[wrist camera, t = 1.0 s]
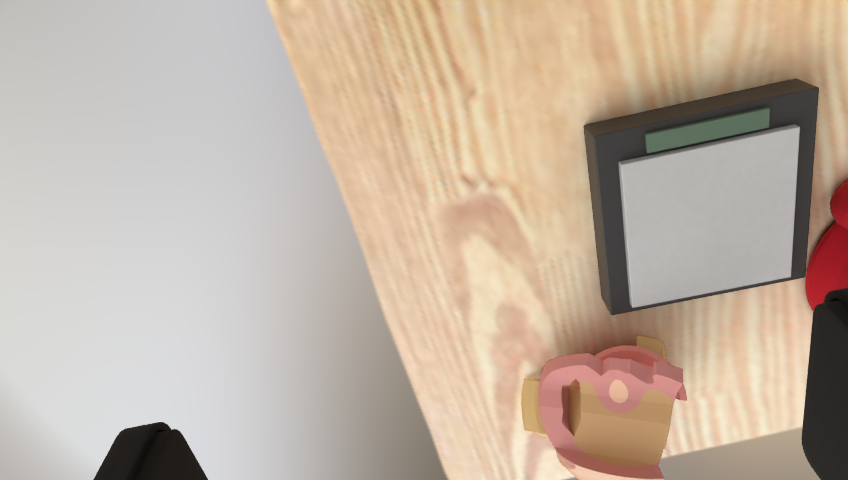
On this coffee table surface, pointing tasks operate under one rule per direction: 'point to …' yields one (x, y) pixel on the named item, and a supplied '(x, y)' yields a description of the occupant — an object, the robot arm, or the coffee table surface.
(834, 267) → the alarm clock
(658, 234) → the scale
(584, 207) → the coffee table surface
